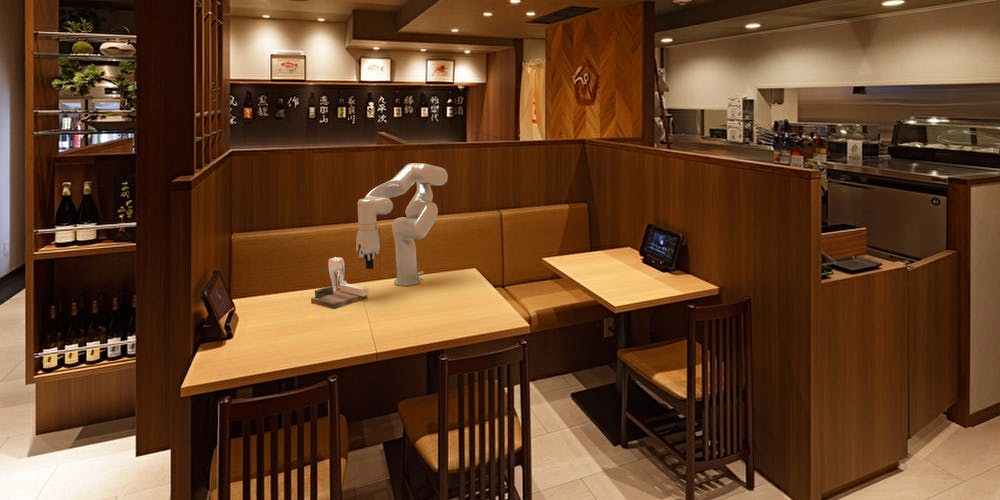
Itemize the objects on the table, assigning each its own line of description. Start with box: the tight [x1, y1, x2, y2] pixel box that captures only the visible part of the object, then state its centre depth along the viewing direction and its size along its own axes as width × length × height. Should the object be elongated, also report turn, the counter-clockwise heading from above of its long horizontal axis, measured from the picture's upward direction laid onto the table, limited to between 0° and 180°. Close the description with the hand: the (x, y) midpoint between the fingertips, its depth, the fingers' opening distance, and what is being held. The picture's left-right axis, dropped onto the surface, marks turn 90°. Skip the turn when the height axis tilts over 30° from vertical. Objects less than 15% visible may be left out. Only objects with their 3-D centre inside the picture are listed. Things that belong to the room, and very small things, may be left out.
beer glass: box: [328, 256, 346, 292], centre depth 258 cm, size 7×7×15 cm
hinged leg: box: [340, 280, 369, 296], centre depth 247 cm, size 15×3×4 cm, turn 55°
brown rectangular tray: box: [310, 285, 368, 310], centre depth 244 cm, size 18×15×5 cm
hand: (369, 268), depth 248 cm, fingers closed
